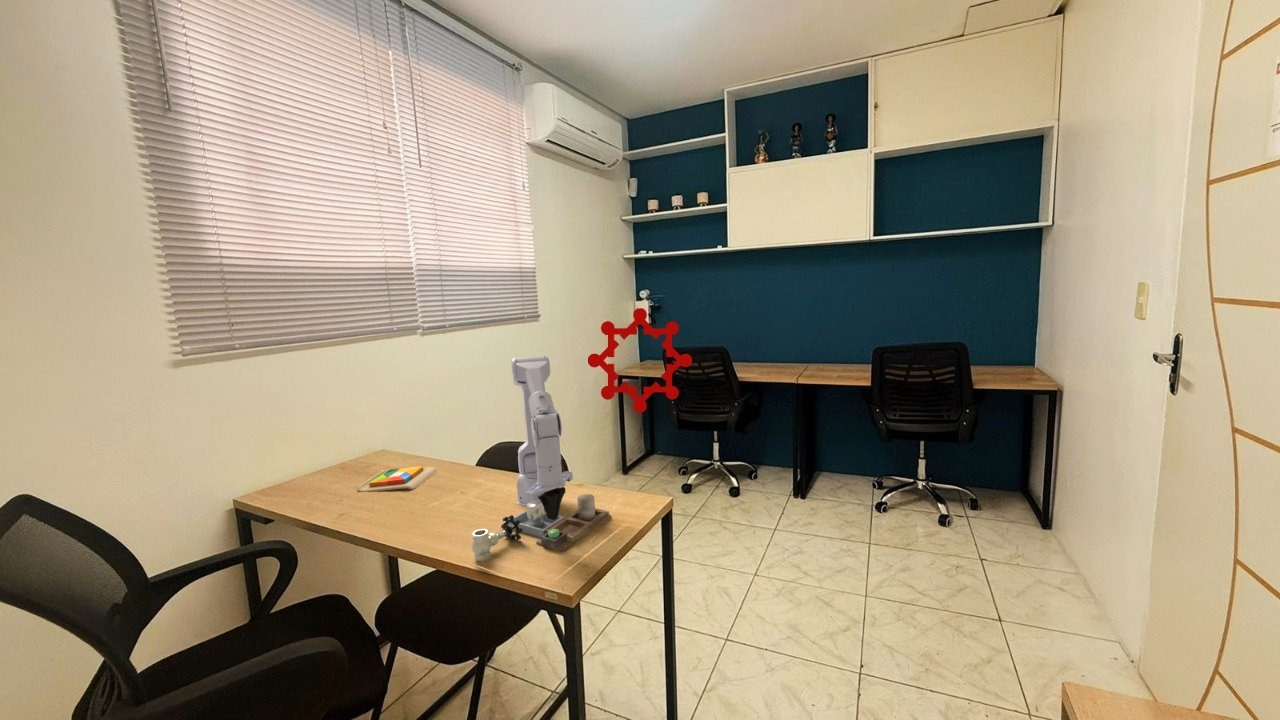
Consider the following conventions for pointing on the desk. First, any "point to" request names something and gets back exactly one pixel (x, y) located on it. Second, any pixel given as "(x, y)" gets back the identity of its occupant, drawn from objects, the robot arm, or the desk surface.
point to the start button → (553, 533)
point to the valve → (493, 538)
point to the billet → (535, 514)
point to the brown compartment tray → (575, 524)
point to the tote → (534, 530)
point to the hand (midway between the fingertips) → (552, 518)
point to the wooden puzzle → (397, 479)
